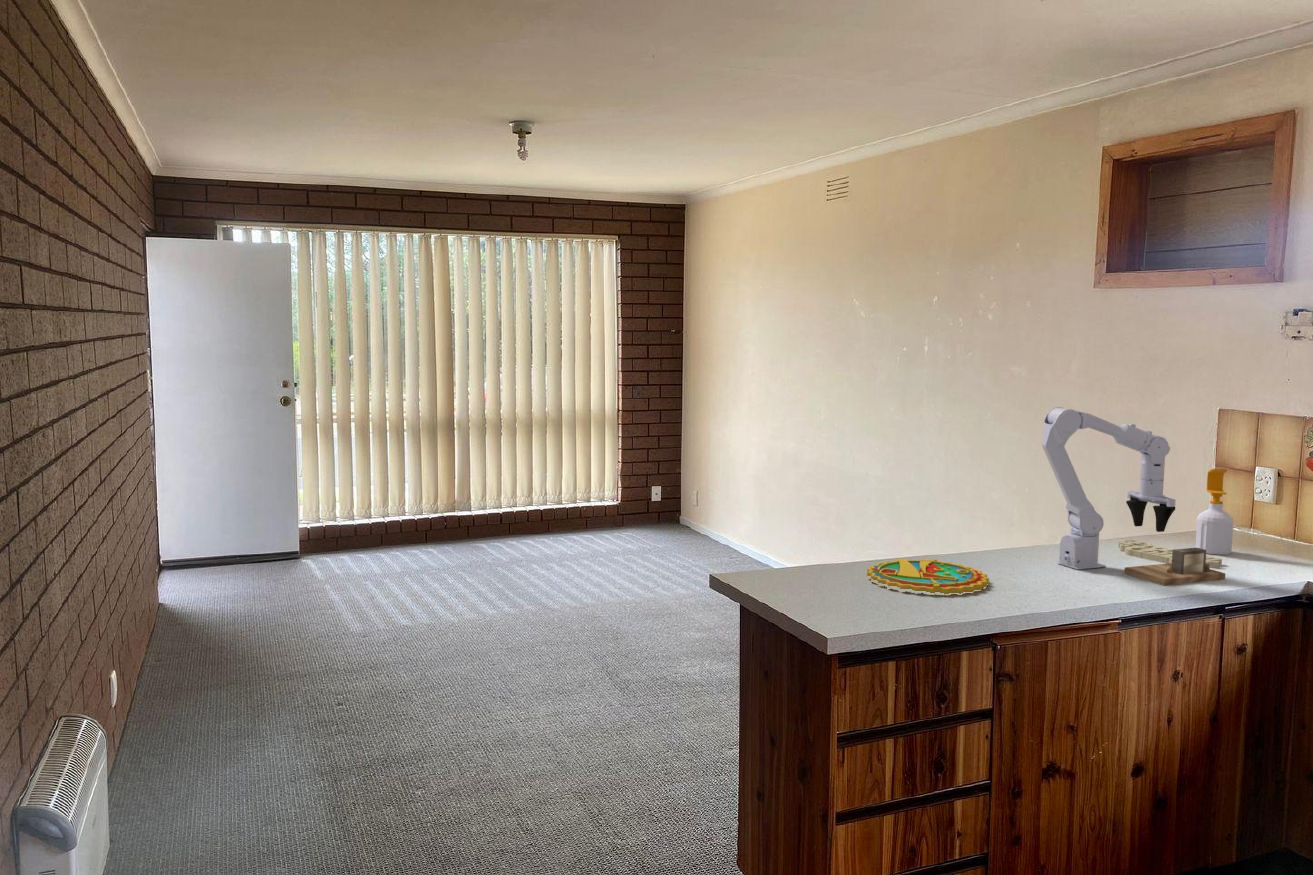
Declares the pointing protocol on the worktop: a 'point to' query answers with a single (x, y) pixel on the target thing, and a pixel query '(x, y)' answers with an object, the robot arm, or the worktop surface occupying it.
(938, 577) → the decorative plaque
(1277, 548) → the worktop surface
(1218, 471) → the soap bottle
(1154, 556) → the decorative sign
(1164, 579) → the board
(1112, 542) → the worktop surface
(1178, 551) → the metal block
